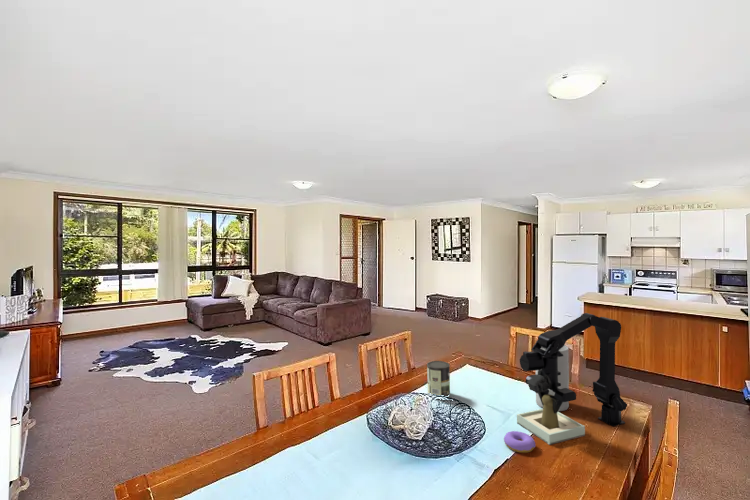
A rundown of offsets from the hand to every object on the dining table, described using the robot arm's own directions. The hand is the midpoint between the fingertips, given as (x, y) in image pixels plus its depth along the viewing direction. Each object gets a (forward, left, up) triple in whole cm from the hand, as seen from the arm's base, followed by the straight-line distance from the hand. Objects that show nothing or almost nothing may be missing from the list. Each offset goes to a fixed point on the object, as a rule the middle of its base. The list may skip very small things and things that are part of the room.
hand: (549, 410), depth 136 cm
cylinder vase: (-16, -15, -7) cm, 23 cm away
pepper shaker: (0, 0, -6) cm, 6 cm away
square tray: (0, 0, -7) cm, 7 cm away
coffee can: (+23, -42, -7) cm, 49 cm away
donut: (+18, +5, -8) cm, 20 cm away
